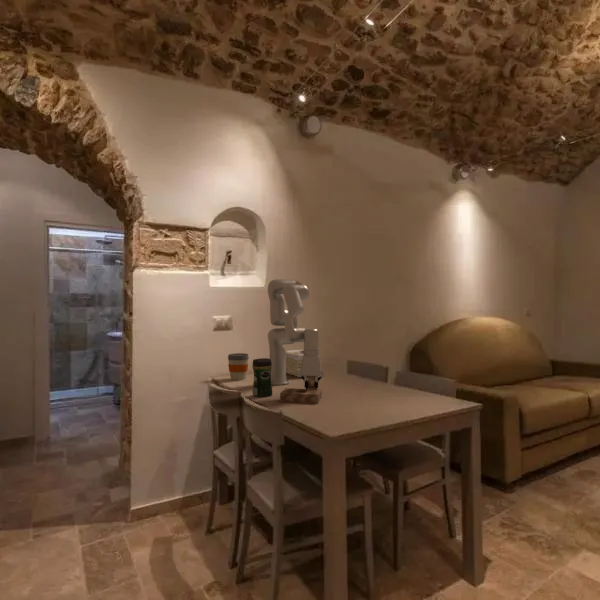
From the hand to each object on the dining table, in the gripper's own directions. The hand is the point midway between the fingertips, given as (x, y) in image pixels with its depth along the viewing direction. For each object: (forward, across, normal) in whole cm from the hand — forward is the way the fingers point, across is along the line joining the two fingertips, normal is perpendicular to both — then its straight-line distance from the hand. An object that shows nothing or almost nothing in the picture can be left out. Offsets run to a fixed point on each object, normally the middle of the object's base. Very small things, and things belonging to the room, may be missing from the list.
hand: (311, 389), depth 217 cm
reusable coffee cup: (+3, -51, +36) cm, 62 cm away
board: (+3, -3, -12) cm, 13 cm away
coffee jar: (+3, -24, -6) cm, 25 cm away
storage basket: (+3, -17, +59) cm, 61 cm away
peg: (+3, 0, 0) cm, 3 cm away
